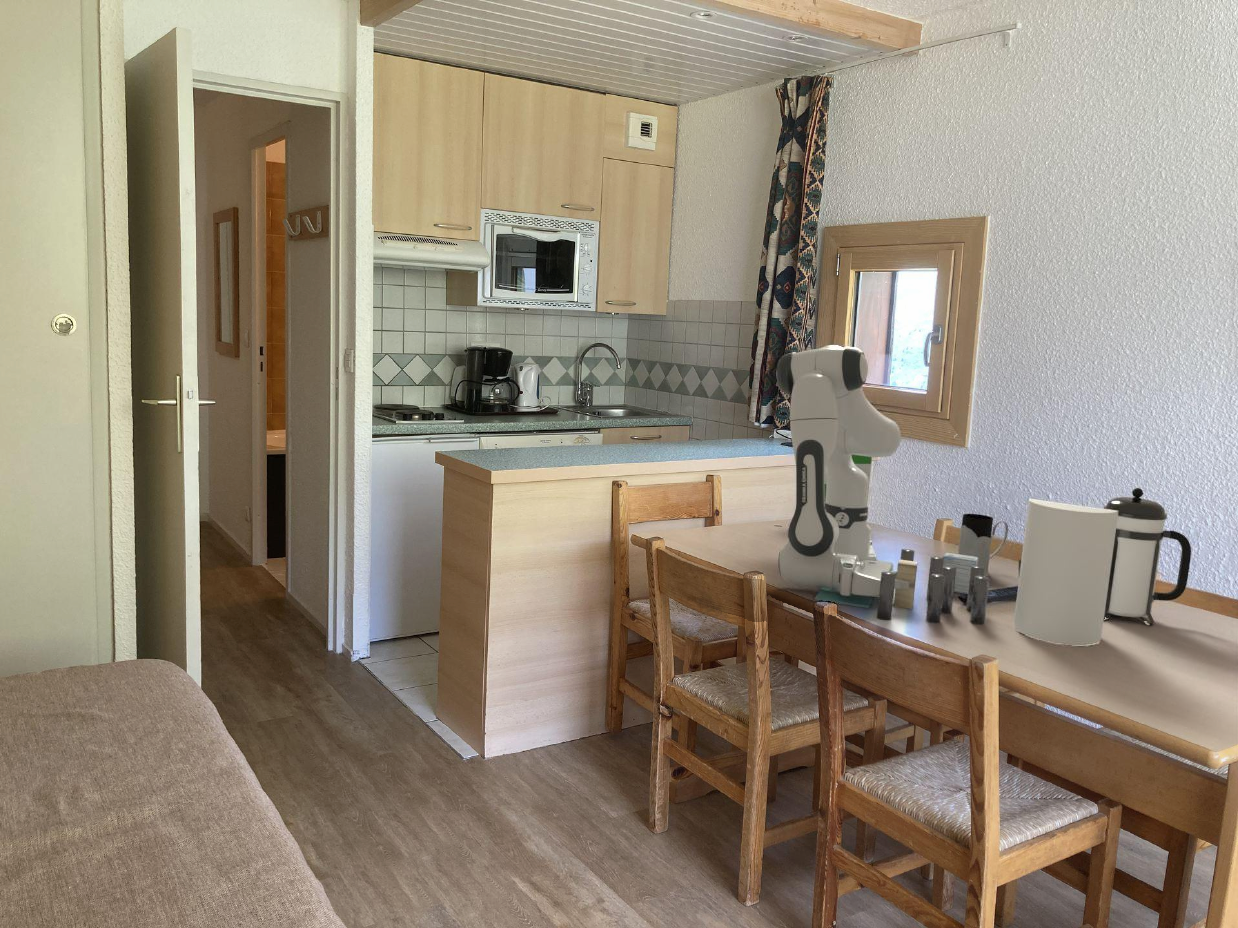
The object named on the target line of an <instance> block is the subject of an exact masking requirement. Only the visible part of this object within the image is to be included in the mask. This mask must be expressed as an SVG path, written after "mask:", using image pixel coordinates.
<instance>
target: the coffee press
mask: <svg viewBox="0 0 1238 928" xmlns="http://www.w3.org/2000/svg"><path fill="white" fill-rule="evenodd" d="M1131 494H1132V496H1133V497H1132V496H1131V497H1129V496H1124V497H1123V496H1118V497H1114V498H1112V499H1109V501H1108V502H1107V503H1106V505H1105V506H1103V509H1109V510H1116V511H1118V518H1117V525H1116V533H1115V540H1114V547H1113V555H1112V562H1111V569H1110V577H1109V584H1108V591H1107V599H1106V606H1105V614H1104V619H1105V617H1106V618H1108V619H1109V618H1110V617H1111V616H1113V615H1114V616H1118V617H1119V616H1121V617H1125V618H1127V617H1128V618H1129V617H1130V618H1139V619H1141V621H1142V622H1143V621H1148V620H1149V622H1150V623H1154V624H1155V620H1154V618H1153V617H1152V614H1151V613H1152V609H1153V603H1154V602H1155V601H1165V602H1166V601H1167V602H1169V601H1173V600H1177V599H1178V598H1179V597H1181V596H1182V595H1183V594H1184V593H1185V590H1186V588H1187V584H1188V579H1189V572H1190V566H1191V558H1192V557H1191V556H1192V546H1191V543H1190V541H1189V539H1188V537H1186V536H1185V534H1183V533H1180V532H1178V531H1175V530H1171V529H1170V530H1164V527H1165V521H1166V520H1167V518H1168V514H1167V513H1166V510H1165V508H1164V506H1163V505H1161V504H1160V503H1158V502H1157V501H1153V500H1149V499H1146V498H1141V497H1142V496H1143V495H1144V491H1143V489H1141V488H1140V487H1135V488H1133V490H1132V491H1131ZM1164 538H1167V539H1168V538H1169V539H1171V540H1176V541H1177V542H1179V544H1180V547H1181V554H1180V562H1179V569H1178V576H1177V582H1176V586H1175V587H1174V589H1172V590H1171V591H1169V592H1158V591H1157V592H1156V591H1155V588H1156V581H1157V576H1158V566H1159V560H1160V555H1161V554H1160V553H1161V547H1162V546H1161V545H1162V540H1164ZM1145 617H1147V619H1148V620H1147V619H1146V618H1145ZM1150 623H1149V624H1150Z"/></svg>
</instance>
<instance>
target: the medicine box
mask: <svg viewBox="0 0 1238 928" xmlns="http://www.w3.org/2000/svg"><path fill="white" fill-rule="evenodd" d="M942 558H944V566H947V567H954V568H956V578H955V587H954V593H959V594H966V595H968V589H969V581H970V572H971V566H973V565H976V566H978V557H973V556H967V555H960V554H958V553H951V552H945V553H944V554H943V556H942ZM944 566H943V567H944Z"/></svg>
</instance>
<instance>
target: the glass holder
mask: <svg viewBox="0 0 1238 928" xmlns="http://www.w3.org/2000/svg"><path fill="white" fill-rule="evenodd" d="M961 521H962V522H961V526H960V532H959V533H960V534H959V541H958V549H957V554H960V555H967V556H973V557H978V566H982V567H985V574H984V576H985V577H989V576H990V573H989V563H990V560H991V559H992V558H993V557H994V556H995V555H996V554H997V553H998V552H999V551H1000V550H1002V548H1003V546H1004V545H1005V543H1006V541H1007V538H1008V534H1009V533H1008V532H1009V525H1008V523H1006V521H1003V520H999V521H997V522H995V524H994V523H993V522H994V517H992V516H989V515H985V514H979V513H963V514H962V520H961ZM1000 523H1003V524H1004V526H1005V532H1004V537H1003V540H1002V542H1000V545H999V546H998V548H996V550H995V551H994V552H993V553H991V547H992V540H993V539H992V538H993V537H994V536H995V534H996V529H997V526H998V525H1000ZM993 524H994V525H993ZM988 575H989V576H988Z"/></svg>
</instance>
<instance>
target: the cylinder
mask: <svg viewBox="0 0 1238 928" xmlns="http://www.w3.org/2000/svg"><path fill="white" fill-rule="evenodd" d="M1025 518H1026V521H1025V525H1024V527H1025V528H1024V534H1023V535H1024V536H1023V544H1022V551H1021V558H1020V559H1021V567H1020V575H1019V574H1018V584H1017V585H1018V586H1017V593H1016V601H1015V610H1014V616H1013V617H1014V618H1013V626H1014V627H1015V629H1016V630H1019V631H1020V632H1022V633H1024V634H1027V635H1028V636H1032V637H1035V638H1038V639H1042V640H1045V641H1050V642H1054V643H1061V644H1068V645H1087V644H1093V643H1097V642H1099V641H1100V640H1101V641H1102V634H1103V626H1104V621H1105V620H1104V614H1105V606H1106V599H1107V591H1108V584H1109V577H1110V569H1111V562H1112V555H1113V547H1114V540H1115V533H1116V525H1117V518H1118V511H1116V510H1109V509H1104V508H1102V507H1101V508H1100V507H1093V506H1086V505H1079V504H1071V503H1065V502H1064V503H1063V502H1058V501H1057V502H1056V501H1050V500H1042V499H1035V498H1028V503H1027V512H1026V517H1025ZM1013 626H1012V627H1013ZM1015 629H1014V630H1015ZM1016 630H1015V631H1016Z"/></svg>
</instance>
